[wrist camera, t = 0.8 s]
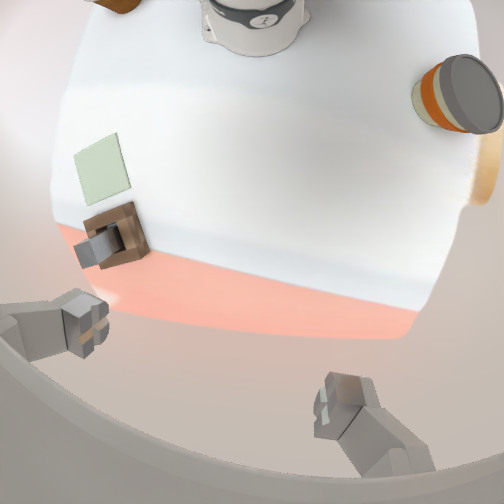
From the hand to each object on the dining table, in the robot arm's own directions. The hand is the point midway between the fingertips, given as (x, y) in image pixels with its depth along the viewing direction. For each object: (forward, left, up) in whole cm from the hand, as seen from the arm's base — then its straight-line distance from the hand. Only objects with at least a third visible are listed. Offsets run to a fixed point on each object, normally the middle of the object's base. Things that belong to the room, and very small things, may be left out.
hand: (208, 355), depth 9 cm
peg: (0, -27, -38) cm, 47 cm away
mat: (-13, -27, -38) cm, 48 cm away
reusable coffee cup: (-11, +36, -38) cm, 53 cm away
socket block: (0, -27, -38) cm, 47 cm away
